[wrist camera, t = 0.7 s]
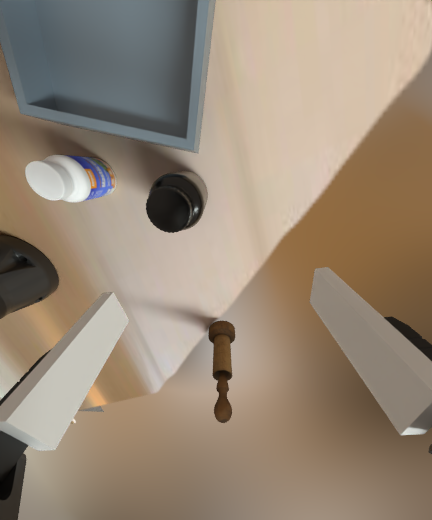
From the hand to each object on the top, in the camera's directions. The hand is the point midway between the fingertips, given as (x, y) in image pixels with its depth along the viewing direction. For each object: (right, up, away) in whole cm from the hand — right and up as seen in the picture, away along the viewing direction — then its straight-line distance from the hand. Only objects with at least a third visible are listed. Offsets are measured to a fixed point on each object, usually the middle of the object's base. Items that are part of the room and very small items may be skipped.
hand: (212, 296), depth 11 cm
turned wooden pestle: (+2, -15, +33) cm, 36 cm away
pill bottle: (-18, +16, +16) cm, 29 cm away
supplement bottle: (-5, +13, +17) cm, 22 cm away
